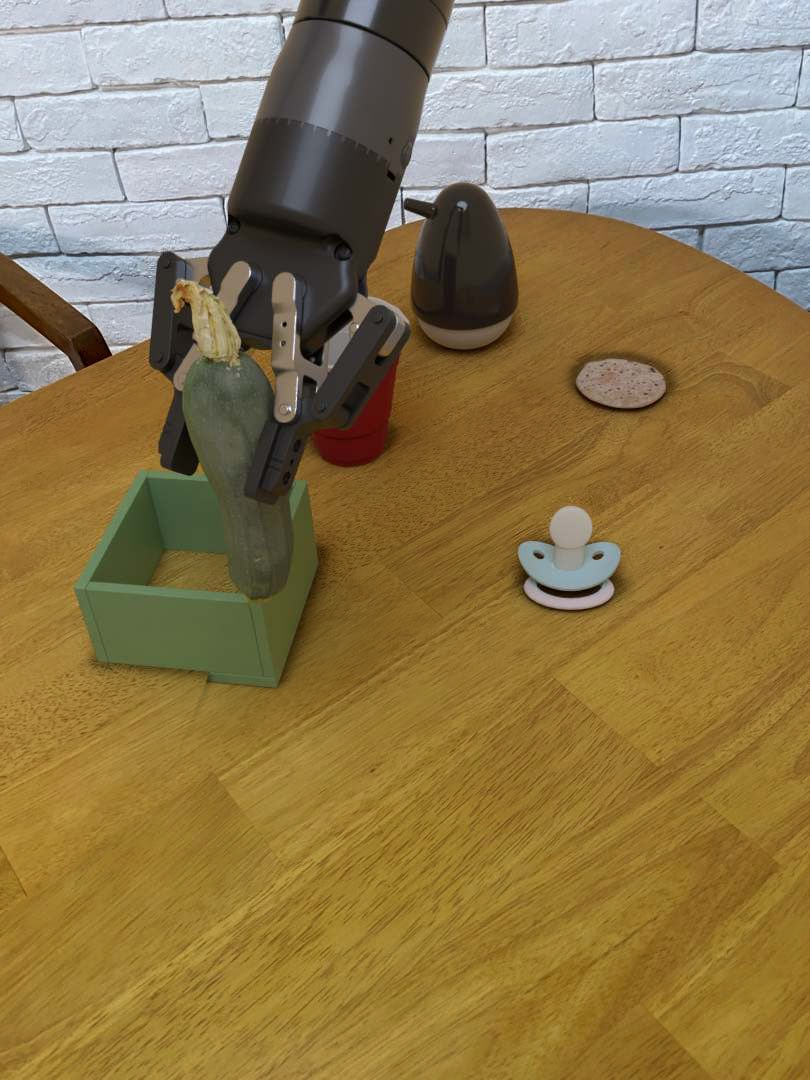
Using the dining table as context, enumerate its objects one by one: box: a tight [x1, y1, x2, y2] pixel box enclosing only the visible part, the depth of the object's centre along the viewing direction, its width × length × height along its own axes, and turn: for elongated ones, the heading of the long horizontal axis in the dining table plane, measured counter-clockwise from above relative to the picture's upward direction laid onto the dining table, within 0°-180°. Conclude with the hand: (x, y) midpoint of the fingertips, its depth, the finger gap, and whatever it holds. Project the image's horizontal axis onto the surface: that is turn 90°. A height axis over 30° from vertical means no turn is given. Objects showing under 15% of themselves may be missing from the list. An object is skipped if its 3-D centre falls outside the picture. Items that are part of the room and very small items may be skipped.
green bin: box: [73, 469, 319, 689], centre depth 79 cm, size 13×13×8 cm
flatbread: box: [575, 358, 667, 409], centre depth 100 cm, size 8×8×1 cm
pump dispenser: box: [402, 181, 520, 350], centre depth 104 cm, size 10×10×15 cm
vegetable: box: [170, 280, 294, 605], centre depth 56 cm, size 4×4×20 cm
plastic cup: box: [311, 295, 410, 468], centre depth 92 cm, size 11×11×12 cm
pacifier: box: [517, 505, 622, 611], centre depth 80 cm, size 7×6×6 cm
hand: (217, 484), depth 54 cm, fingers closed on vegetable, 4 cm apart
